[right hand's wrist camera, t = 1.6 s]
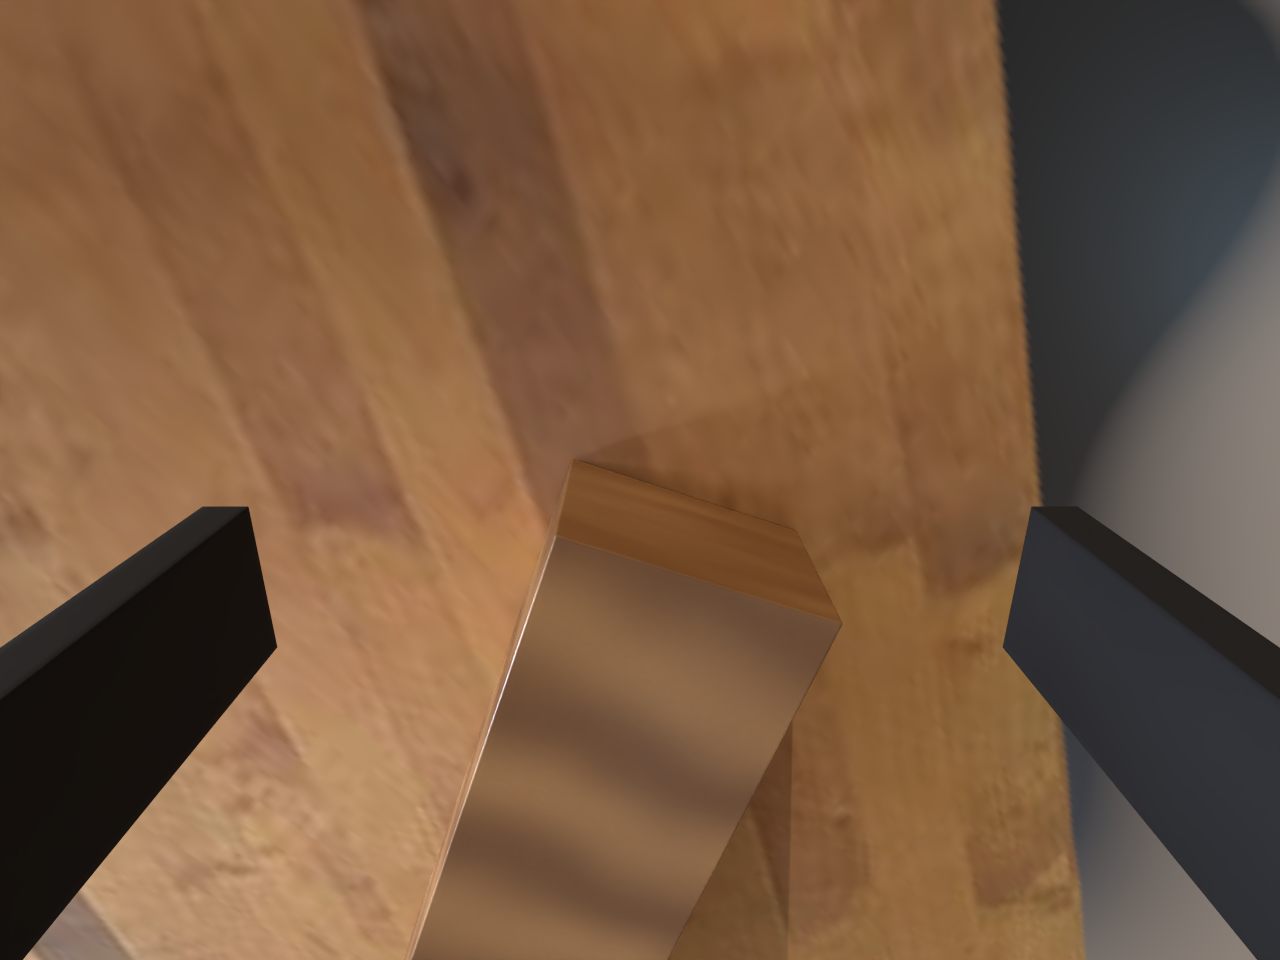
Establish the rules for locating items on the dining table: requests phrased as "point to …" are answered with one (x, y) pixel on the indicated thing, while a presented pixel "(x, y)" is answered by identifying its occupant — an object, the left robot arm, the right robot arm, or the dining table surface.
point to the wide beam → (624, 726)
